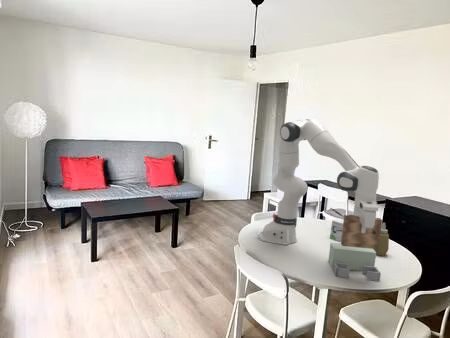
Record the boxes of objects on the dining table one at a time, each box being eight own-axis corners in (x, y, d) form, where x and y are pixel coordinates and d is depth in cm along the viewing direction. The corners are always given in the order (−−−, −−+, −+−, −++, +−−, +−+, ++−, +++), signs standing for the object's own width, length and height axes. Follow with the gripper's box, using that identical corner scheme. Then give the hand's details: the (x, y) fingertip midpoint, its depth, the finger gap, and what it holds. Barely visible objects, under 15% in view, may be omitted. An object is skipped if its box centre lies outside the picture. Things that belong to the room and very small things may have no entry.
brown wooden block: (342, 246, 152) (346, 217, 150) (340, 243, 156) (344, 215, 154) (379, 250, 150) (383, 220, 148) (376, 246, 154) (380, 218, 152)
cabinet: (380, 281, 152) (383, 260, 150) (335, 276, 154) (338, 256, 152) (368, 264, 169) (371, 246, 167) (328, 260, 171) (330, 242, 169)
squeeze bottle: (386, 258, 178) (391, 226, 175) (370, 254, 183) (375, 223, 180) (388, 253, 185) (392, 222, 182) (372, 249, 189) (377, 219, 186)
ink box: (329, 238, 204) (331, 219, 202) (332, 236, 207) (335, 218, 205) (342, 242, 198) (345, 223, 196) (346, 240, 202) (348, 222, 200)
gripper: (352, 195, 161) (348, 223, 163) (364, 207, 141) (360, 238, 143) (365, 196, 160) (361, 224, 162) (379, 208, 140) (375, 239, 142)
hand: (361, 230), depth 152 cm, fingers closed on brown wooden block, 3 cm apart
